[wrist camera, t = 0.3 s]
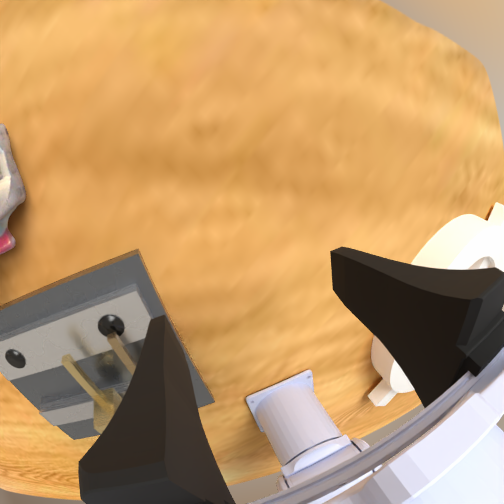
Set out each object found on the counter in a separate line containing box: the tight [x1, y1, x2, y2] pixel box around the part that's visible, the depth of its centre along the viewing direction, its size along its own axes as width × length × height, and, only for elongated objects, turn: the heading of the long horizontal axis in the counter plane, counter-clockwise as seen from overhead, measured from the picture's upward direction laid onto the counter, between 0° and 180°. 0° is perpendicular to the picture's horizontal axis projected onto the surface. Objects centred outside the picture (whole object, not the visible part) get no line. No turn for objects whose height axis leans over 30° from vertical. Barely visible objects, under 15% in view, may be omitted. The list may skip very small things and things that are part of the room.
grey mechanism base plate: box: [0, 249, 215, 440], centre depth 21 cm, size 18×18×3 cm
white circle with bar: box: [368, 202, 504, 406], centre depth 36 cm, size 28×28×5 cm
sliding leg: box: [61, 354, 123, 434], centre depth 19 cm, size 10×2×4 cm, turn 12°
